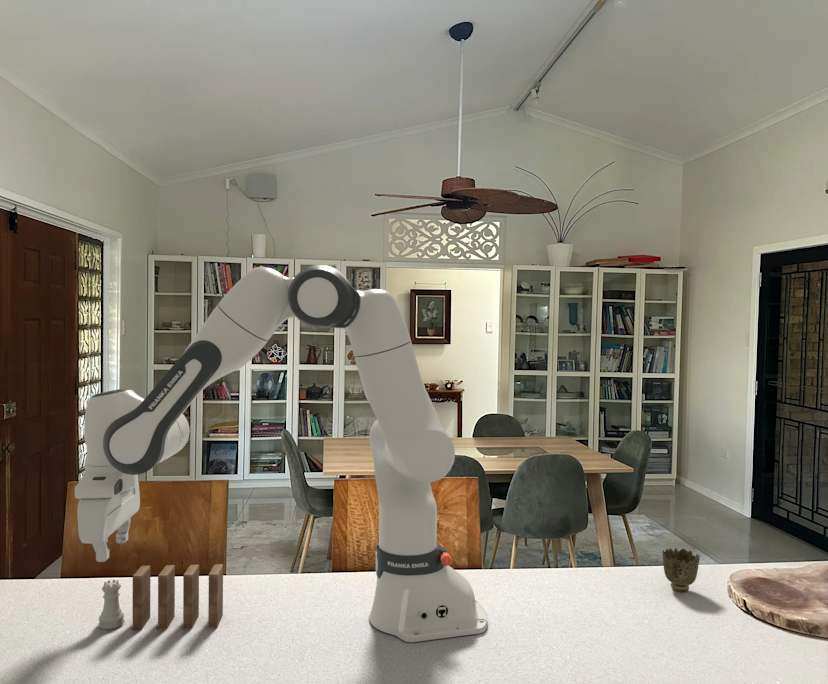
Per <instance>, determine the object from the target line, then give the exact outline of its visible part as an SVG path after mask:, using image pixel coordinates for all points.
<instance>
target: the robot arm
mask: <svg viewBox="0 0 828 684" xmlns="http://www.w3.org/2000/svg"><path fill="white" fill-rule="evenodd" d="M292 318H297V319H298V320H299V321H300V322H301V323H303V324H305V325H307V326H309V327H313V328H323V329H325V328H326V329H327V328H329V329H332V328H333V329H343V330H344V332H345V333H346V334H347V337H348V340H349V343H350V346H351V350H352V353H353V357H354V361H355V365H356V368H357V372H358V375H359V379H360V383H361V385H362V389H363V392H364V396H365V398H366V400H367V401H368V404H369V405H370V407H371V410H372V411H373V414H374V416H375V418H376V420H375V421H373V423H372V425H371V427H370V428H369V429H370V430H369V435H368V441H369V445H370V449H371V453H372V454H371V455H372V458H373V459H372V461H373V469H374V477H375V484H376V490H377V496H378V497H377V498H378V514H379V516H378V543H377V545H376V551H375V574H376V577H377V578H376V584H375V585H376V586H375V591H374V597H373V601H372V605H371V606H372V607H371V610H370V612H369V617H368V619H369V622H370V624H371V625H372V626H373V627H374V628H375V629H377V630H379V631H381V632H383V633H386V634H390V635H391V636H396V637H397V638H399V639H400V640H402V641H404V642H405V643H418V642H424V641H425V642H426V641H431V640H440V639H447V638H448V639H449V638H453V637H454V638H456V637H462V636H470V635H478V634H483V633H484V632H485V631H486V630H487V628H488V616H487V612H486V610H485V608H484V606H482V604H481V603H480V602H479V601H477V600H476V598H475V593H474V590H473V587H472V585H471V583H470V582H469V581H468V579H467V578H466V577H465V576H463V575H462V574H461V573H459V572H458V571H456V570H455V569H454V568H453V567H451V566H450V565H451V564H453V563H452V562H453V558H452V556H451V554H450V552H447V549H446V548H445V547H444V545H443V544H442V543H441V542H440V543H438V542H437V532H438V531H437V528H438V527H437V526H438V523H437V522H438V517H437V516H438V505H437V502H436V499H435V495H434V494H433V490H432V489H433V488H432V486H431V483H434V482H438V481H439V480H441V479H443V478H445V477H446V476H447V474H449V472H450V471H451V470H452V467H453V465H454V463H455V457H456V450H455V446H454V443H453V441H452V439H451V438H450V437H449V435H448V433H447V432H446V430H445V428H444V427H443V425H442V422H441V420H440V418H439V415H438V413H437V410H436V408H435V406H434V404H433V402H432V400H431V398H430V396H429V393H428V392H427V389H426V387H425V384H424V381H423V378H422V376H421V373H420V368H419V365H418V362H417V357H416V354H415V350H414V347H413V344H412V339H411V335H410V333H409V329H408V326H407V323H406V321H405V318H404V315H403V313H402V311H401V309H400V307H399V304H398V302H397V300H396V298H395V297H394V295H393V294H391V292H389V291H387V290H384V289H380V288H370V289H365V290H358V289H355V287H353V285H352V284H351V283H350V281H349V280H348V279H347V277H346V276H345V274H343V273H342V271H340V270H338V268H335V267H333V266H330V265H326V264H316V265H311V266H309V267H306V268H303V269H302V270H301V271H299V272H298V273H297V274H296V275H294V276H292V277H288V276H285V275H284V274H282V273H281V272H279V271H277V270H275V269H274V268H271V267H266V266H257V267H254V268H252V269H250V270H249V271H248V272H247V273H246V274H245V275H243V276H242V277H241V278H240V279H239V280H238V281H237V282H236V283H235V284H234V285H233V286H232V287H231V288H230V289H229V290H228V292H227V293H225V295H224V296H223V297H222V299H220V301H219V302H218V304H217V305H216V306H215V308H214V309H213V311H211V313H210V314H209V316H208V317H207V319H206V320H205V321H204V322H203V325H202V326H201V328H200V329H199V330H198V332H197V333H196V335H195V336H194V338H193V339H192V341H191V342H190V343H189V345H188V346H187V347H186V349H185V350H184V352H183V353H182V354H181V356H180V357H179V358H178V359H177V361H176V362H175V363H174V364H173V365H172V367H170V369H169V370H168V371H167V372H166V373H165V374H164V375H163V377H162V378H161V379H160V380H159V381H158V383H157V384H156V385H155V386H154V388H153V389H152V390H151V391H150V392H149V393H148V395H146V397H145V398H143V397H141V395H139V394H137V392H135V391H134V390H132V389H131V388H118V389H113V390H108V391H104V392H103V391H102V392H100V393H96V394H94V395H92V396H91V397H89V399H88V401H87V403H86V408H85V414H84V426H83V427H84V430H83V431H84V432H83V433H84V437H83V439H84V442H85V445H86V456H85V459H84V472H83V473H82V475H81V478H80V480H79V482H78V483H77V484H76V485H75V487H74V498H75V499H79V501H78V503H77V510H76V511H77V529H78V530H77V532H78V537H79V540H80V542H81V543H82V544H91V545H92V547H93V549H94V552H95V560H96V562H97V563H104V562H107V560H108V559H109V558H110V548H108V545H107V543H108V541H109V540H108V538H109V537H110V536H111V535H112V534H113V533H115V532H116V531H117V532H116V534H115V543H117V544H125V543H126V542H127V541H128V540H129V530H130V527H131V523H132V522H131V521H132V520H131V519H132V517H133V516H134V515H135V514H137V513H138V512H139V510H140V505H141V496H140V485H139V477H138V475H142V474H145V473H147V472H149V471H150V470H151V469H153V468H154V467H155V466H157V465H158V464H160V463H162V462H163V461H166V460H167V459H169V458H171V457H172V456H175V455H176V454H177V453H179V452H180V451H181V450H182V449H184V448H185V447H186V445H187V444H188V442H189V440H190V436H191V427H190V423H189V420H188V418H187V416H186V415H185V414H184V413H185V412H186V410H187V409H188V407H190V405H192V403H193V401H195V399H196V398H197V397H198V395H200V393H201V392H202V391H204V390H205V389H206V388H207V387H209V386H210V385H211V384H213V383H215V382H216V381H217V380H219V379H221V378H223V377H225V376H227V375H229V374H231V373H234V372H235V371H238V370H240V369H241V368H243V367H244V366H245V365H247V363H249V362H250V361H252V359H253V358H254V357H255V356H256V355H257V354H258V353H259V352H260V351H262V349H263V348H264V347H265V346H266V344H267V343H268V341H269V340H270V339H271V337H272V336H273V335H274V333H276V331H277V329H279V327H280V326H281V325H282V324H283V323H285V322H286V321H287V320H288V319H292Z"/></svg>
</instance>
